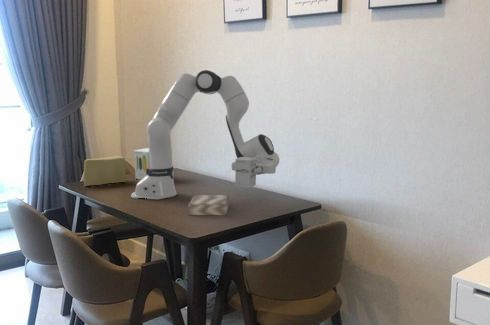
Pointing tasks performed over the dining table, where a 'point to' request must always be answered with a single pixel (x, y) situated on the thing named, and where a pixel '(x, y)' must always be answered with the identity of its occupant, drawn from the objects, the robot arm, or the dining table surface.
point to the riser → (208, 205)
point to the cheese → (104, 170)
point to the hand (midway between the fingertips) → (244, 170)
